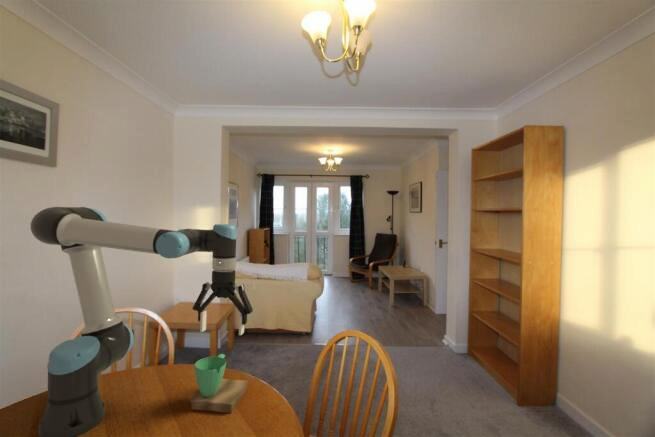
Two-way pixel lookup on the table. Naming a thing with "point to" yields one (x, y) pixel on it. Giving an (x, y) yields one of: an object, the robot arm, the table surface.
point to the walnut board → (221, 397)
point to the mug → (210, 374)
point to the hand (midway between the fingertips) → (222, 332)
